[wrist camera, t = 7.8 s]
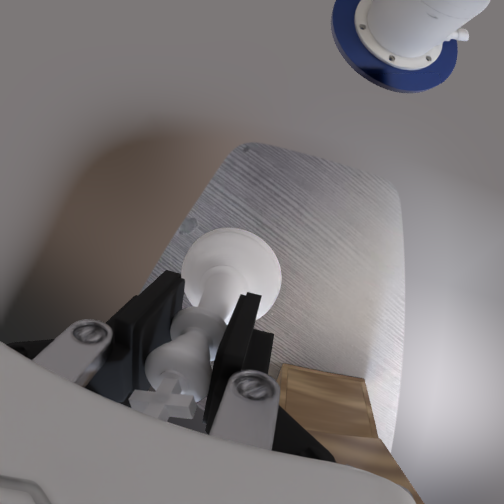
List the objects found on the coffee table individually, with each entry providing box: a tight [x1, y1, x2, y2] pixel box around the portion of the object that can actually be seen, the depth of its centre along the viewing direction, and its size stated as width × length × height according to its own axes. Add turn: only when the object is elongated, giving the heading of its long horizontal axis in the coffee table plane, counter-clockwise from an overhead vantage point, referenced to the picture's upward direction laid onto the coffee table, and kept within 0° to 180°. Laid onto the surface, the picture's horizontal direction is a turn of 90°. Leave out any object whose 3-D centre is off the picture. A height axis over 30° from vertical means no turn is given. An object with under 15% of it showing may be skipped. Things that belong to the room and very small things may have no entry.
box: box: [277, 363, 378, 438], centre depth 39 cm, size 14×13×12 cm
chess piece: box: [128, 228, 282, 422], centre depth 11 cm, size 5×5×10 cm
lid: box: [305, 429, 424, 504], centre depth 24 cm, size 14×13×1 cm
